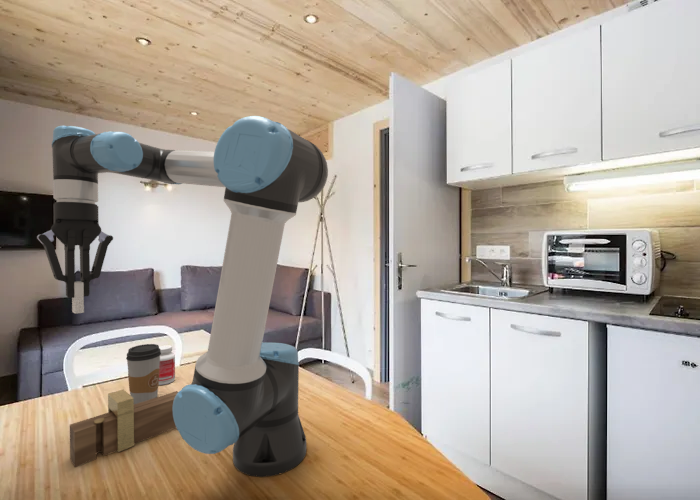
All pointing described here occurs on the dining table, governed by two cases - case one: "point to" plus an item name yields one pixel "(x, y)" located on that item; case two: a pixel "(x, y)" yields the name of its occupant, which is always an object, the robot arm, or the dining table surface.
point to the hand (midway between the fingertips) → (78, 312)
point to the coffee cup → (143, 371)
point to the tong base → (94, 434)
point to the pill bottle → (166, 365)
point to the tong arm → (140, 424)
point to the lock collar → (123, 417)
